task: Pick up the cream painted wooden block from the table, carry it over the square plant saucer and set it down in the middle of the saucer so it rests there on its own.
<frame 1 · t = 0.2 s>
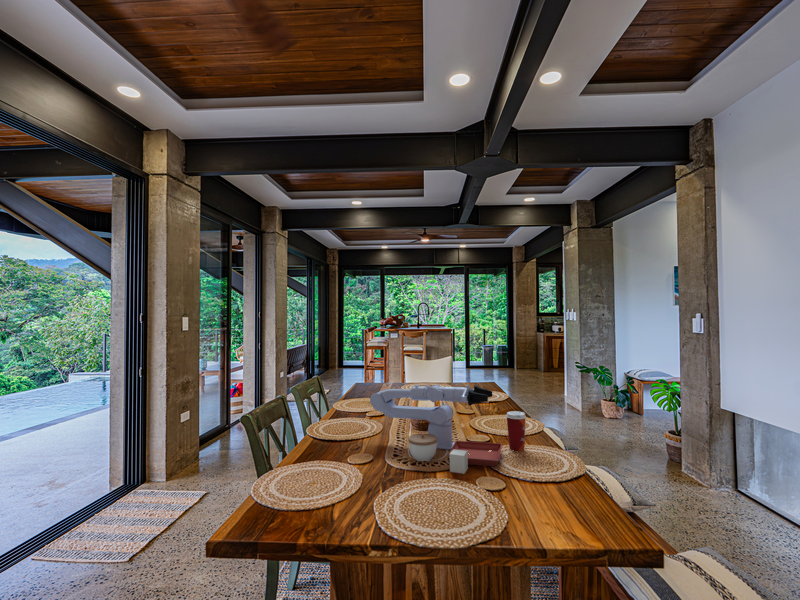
hand: (490, 396, 154), 21 cm above the table, tool horizontal, fingers open, 7 cm apart
block: (459, 470, 137), on the table
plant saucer: (476, 459, 148), on the table
lidded jar: (423, 459, 148), on the table
paper cup: (516, 449, 156), on the table
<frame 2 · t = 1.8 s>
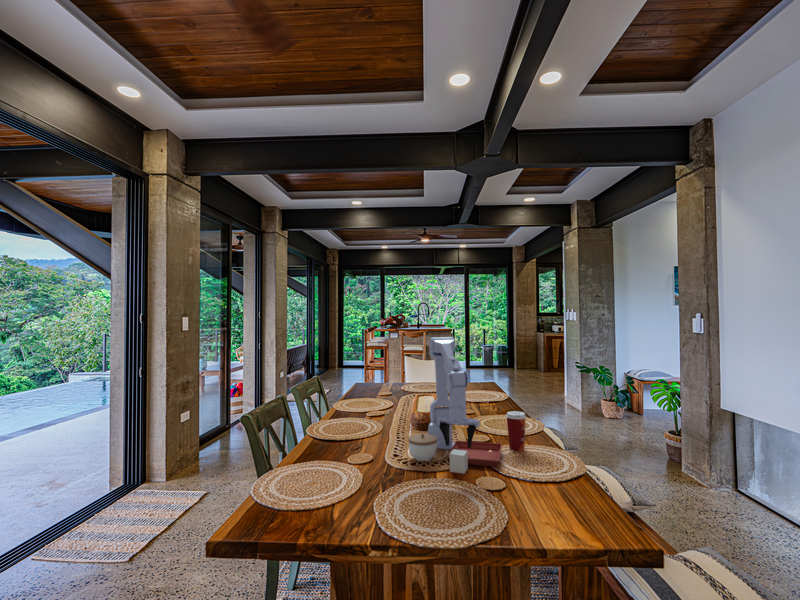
hand: (458, 446, 137), 8 cm above the table, tool pointing down, fingers open, 7 cm apart
nothing on the table moved.
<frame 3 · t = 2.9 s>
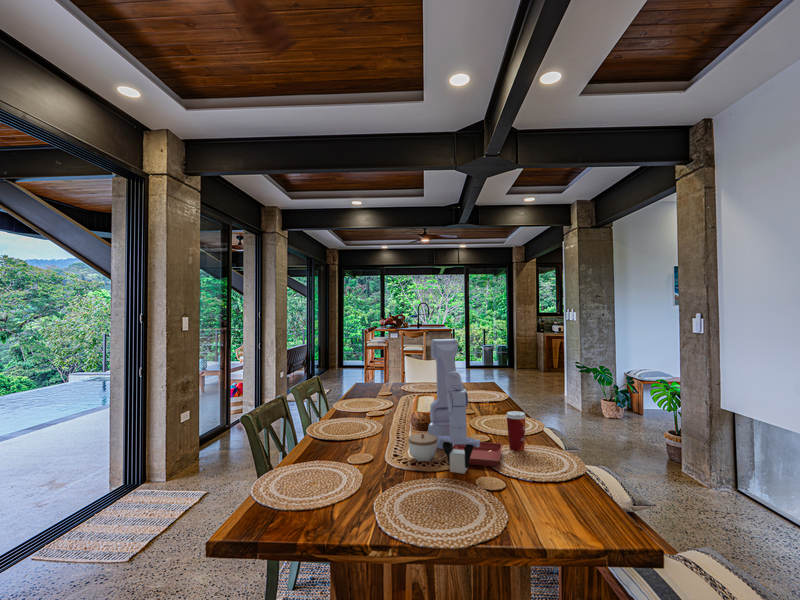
hand: (458, 465, 137), 1 cm above the table, tool pointing down, fingers closed on block, 5 cm apart
block: (459, 469, 137), on the table, touching gripper
everything else where it was.
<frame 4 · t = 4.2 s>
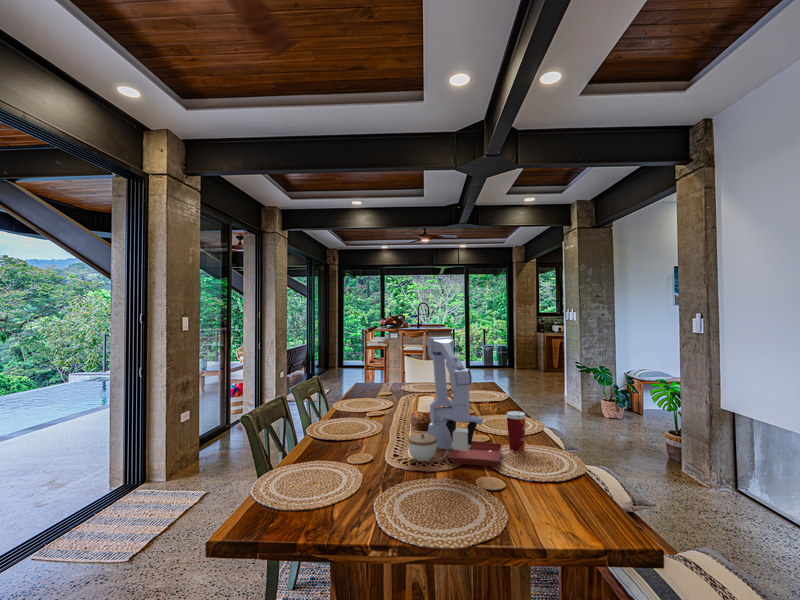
hand: (462, 442, 140), 8 cm above the table, tool pointing down, fingers closed on block, 5 cm apart
block: (461, 447, 139), point 7 cm above the table, touching gripper
everything else where it was.
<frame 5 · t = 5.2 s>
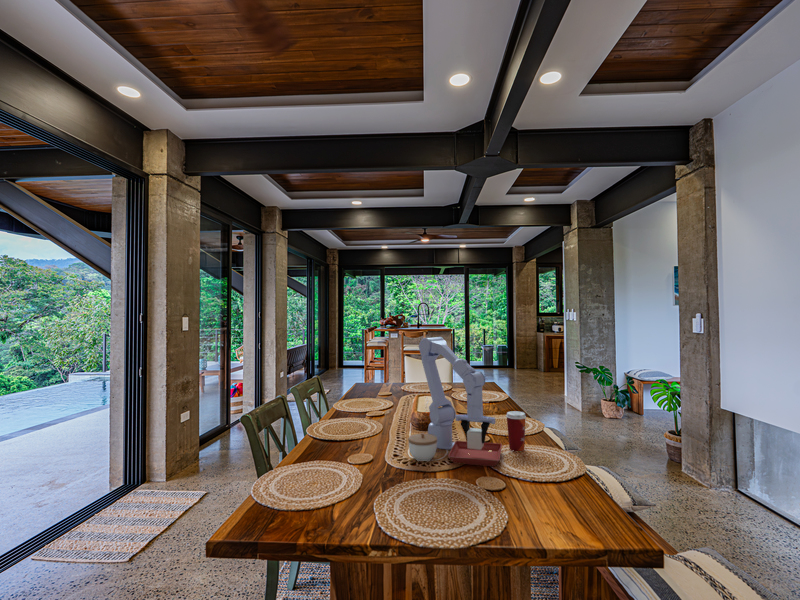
hand: (475, 441, 148), 6 cm above the table, tool pointing down, fingers closed on block, 5 cm apart
block: (475, 446, 148), point 4 cm above the table, touching gripper
everything else where it was.
when the fingers open (5 cm above the table, at t = 5.8 s): block stays where it is, resting on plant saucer.
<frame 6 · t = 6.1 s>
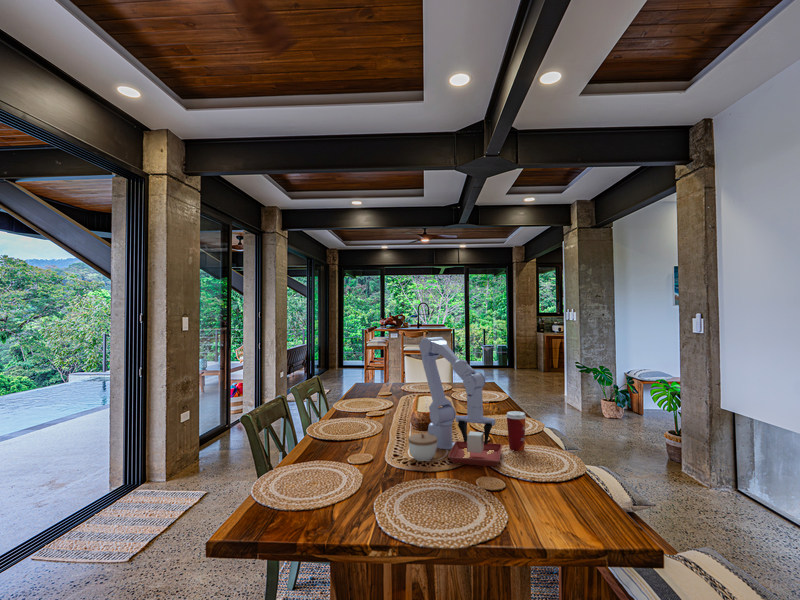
hand: (475, 442, 148), 5 cm above the table, tool pointing down, fingers open, 7 cm apart
block: (475, 450, 148), point 3 cm above the table, touching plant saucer
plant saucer: (476, 459, 148), on the table, touching block
everything else where it was.
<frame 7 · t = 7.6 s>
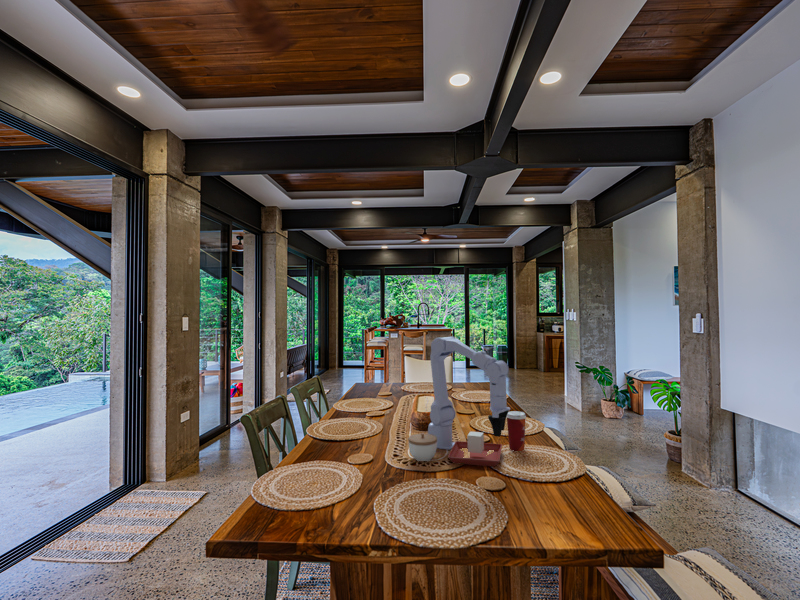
hand: (499, 433, 143), 10 cm above the table, tool pointing down, fingers open, 7 cm apart
nothing on the table moved.
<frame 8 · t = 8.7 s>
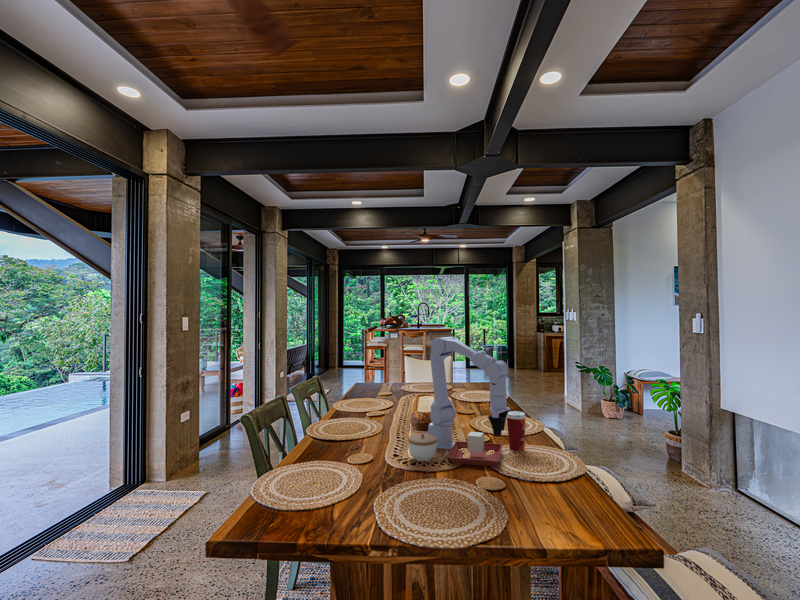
hand: (499, 433, 143), 10 cm above the table, tool pointing down, fingers open, 7 cm apart
nothing on the table moved.
at the end: block inside the target area in the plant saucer (0.4 cm from its centre), point 3.5 cm above the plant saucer's base; block tilted 0°; the gripper is holding nothing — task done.
